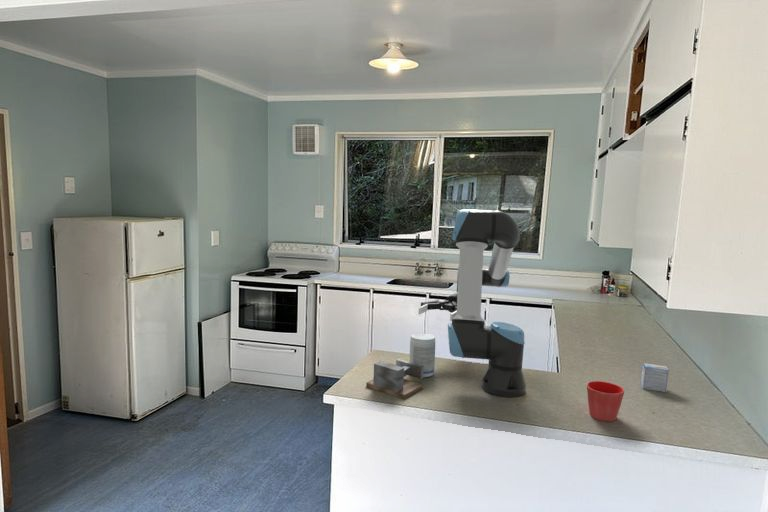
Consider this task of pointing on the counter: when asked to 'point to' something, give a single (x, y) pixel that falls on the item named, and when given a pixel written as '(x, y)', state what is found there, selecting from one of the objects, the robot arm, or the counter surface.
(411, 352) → the supplement tub
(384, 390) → the gauge bench
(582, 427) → the counter surface
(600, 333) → the counter surface
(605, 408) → the flower pot
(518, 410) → the counter surface
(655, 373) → the medicine box
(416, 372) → the gauge plunger
